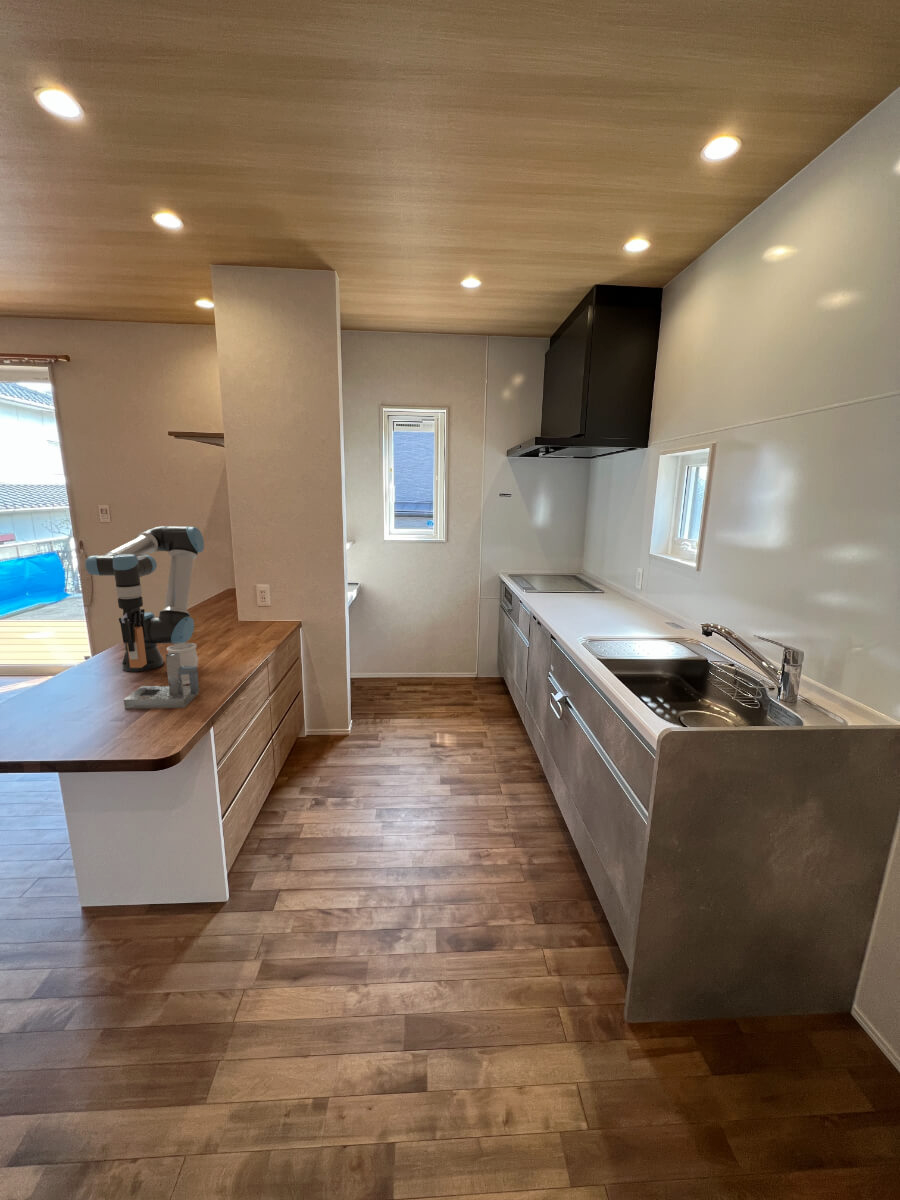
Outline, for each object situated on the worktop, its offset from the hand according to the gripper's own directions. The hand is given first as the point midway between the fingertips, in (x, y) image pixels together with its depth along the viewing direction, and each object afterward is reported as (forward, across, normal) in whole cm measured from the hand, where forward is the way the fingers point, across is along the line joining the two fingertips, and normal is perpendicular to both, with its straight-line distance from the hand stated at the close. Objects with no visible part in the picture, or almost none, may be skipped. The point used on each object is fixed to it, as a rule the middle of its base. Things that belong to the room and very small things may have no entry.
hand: (137, 656), depth 180 cm
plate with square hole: (+14, +10, +13) cm, 21 cm away
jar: (+15, -9, +12) cm, 21 cm away
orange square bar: (+4, 0, 0) cm, 4 cm away
